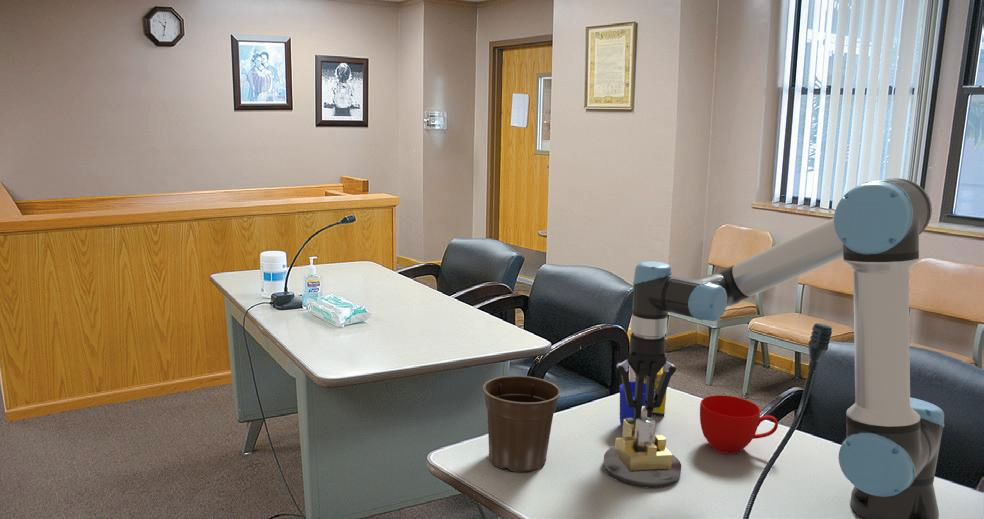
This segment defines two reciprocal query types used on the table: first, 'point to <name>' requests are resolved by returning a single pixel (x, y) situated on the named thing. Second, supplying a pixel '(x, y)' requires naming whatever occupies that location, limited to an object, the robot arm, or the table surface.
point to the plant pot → (519, 420)
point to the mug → (624, 407)
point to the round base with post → (641, 477)
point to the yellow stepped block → (649, 459)
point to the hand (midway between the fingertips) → (641, 436)
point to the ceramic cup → (731, 422)
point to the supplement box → (661, 409)
